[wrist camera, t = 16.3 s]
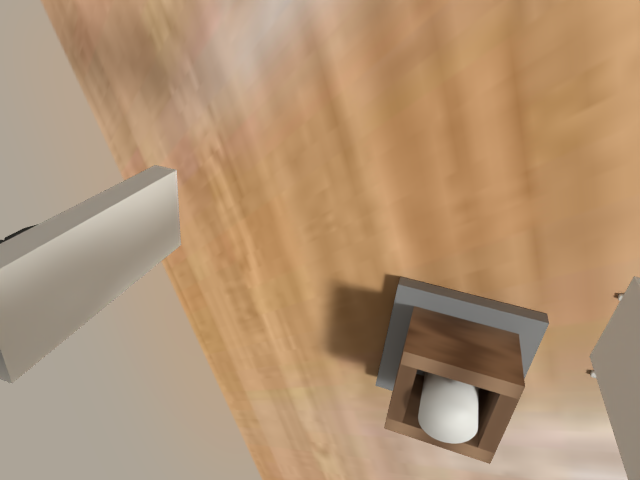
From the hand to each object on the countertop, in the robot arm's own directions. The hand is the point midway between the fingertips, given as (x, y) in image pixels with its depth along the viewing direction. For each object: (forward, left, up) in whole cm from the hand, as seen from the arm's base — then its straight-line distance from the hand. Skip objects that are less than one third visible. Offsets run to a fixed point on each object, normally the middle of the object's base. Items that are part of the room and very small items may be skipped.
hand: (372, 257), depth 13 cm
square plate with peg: (+7, -25, -28) cm, 38 cm away
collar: (+7, -25, -26) cm, 37 cm away
